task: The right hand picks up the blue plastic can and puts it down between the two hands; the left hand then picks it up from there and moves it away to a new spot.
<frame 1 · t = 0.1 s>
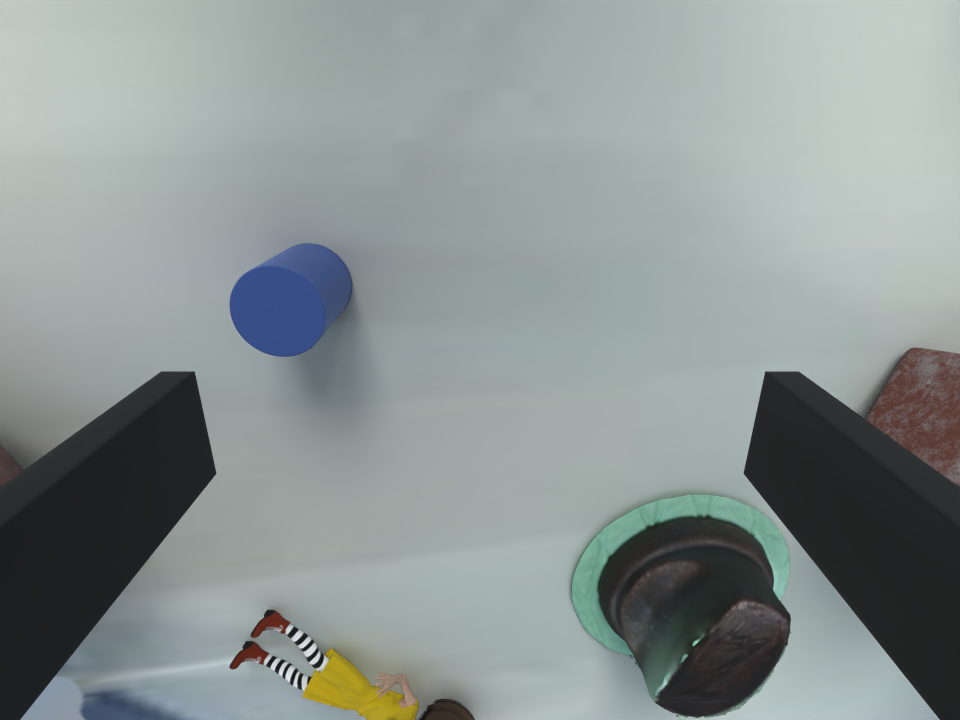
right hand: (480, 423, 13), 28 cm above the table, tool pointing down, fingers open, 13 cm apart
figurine: (368, 671, 55), on the table
chocolate cake: (678, 580, 51), on the table
can: (312, 283, 40), on the table
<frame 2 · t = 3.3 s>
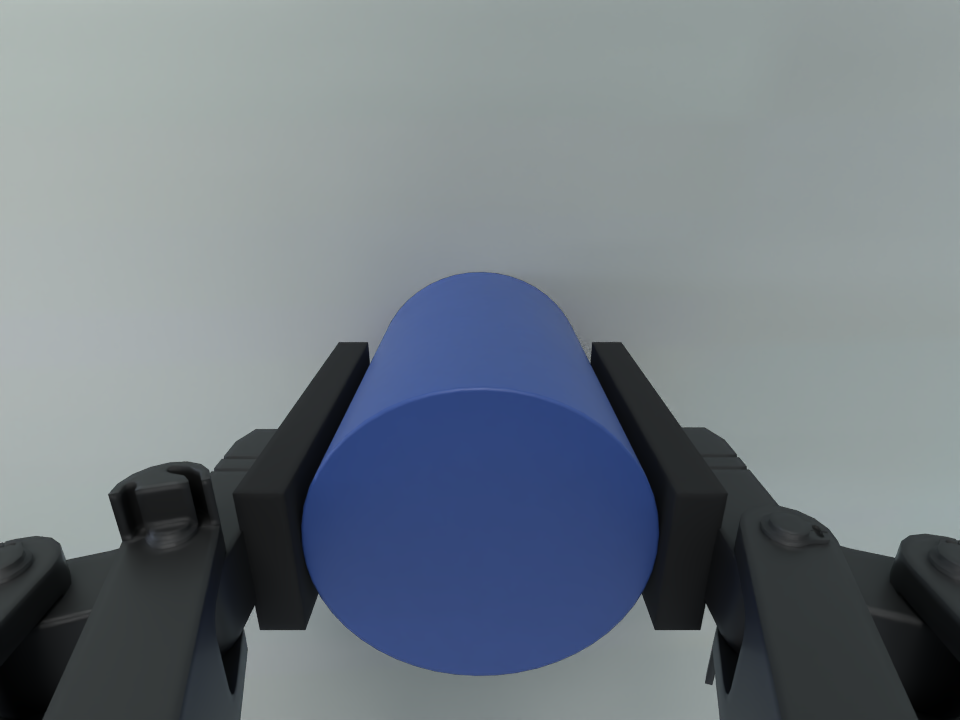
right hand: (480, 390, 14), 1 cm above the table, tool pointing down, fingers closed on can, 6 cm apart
can: (480, 370, 16), on the table, touching right hand
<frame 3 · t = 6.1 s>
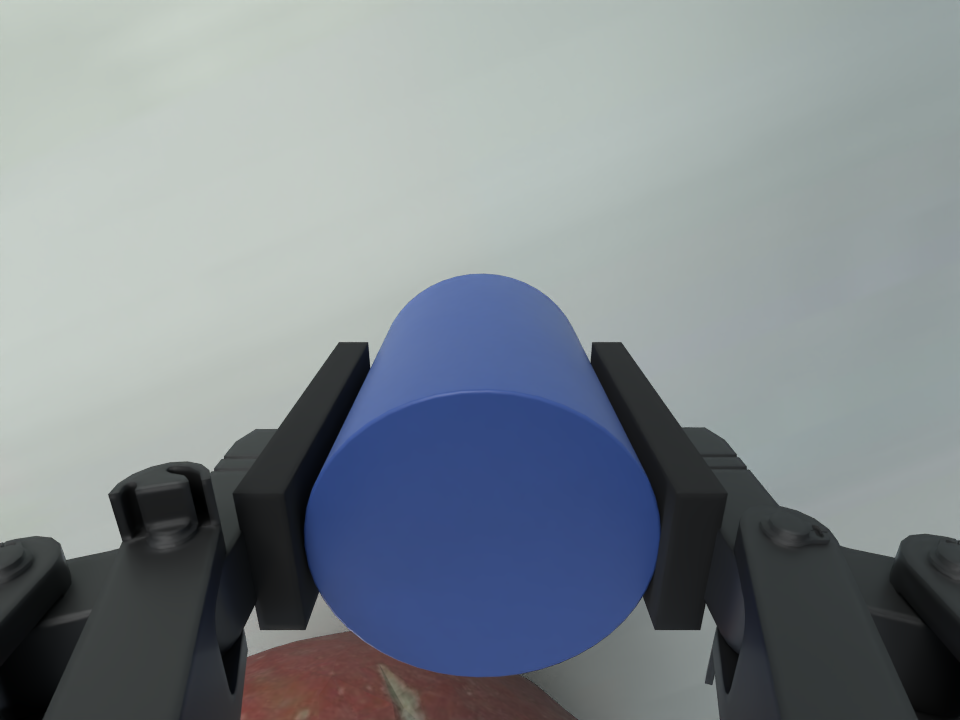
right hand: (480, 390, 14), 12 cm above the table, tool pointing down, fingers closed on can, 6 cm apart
clay pot: (401, 698, 36), on the table
can: (481, 371, 16), point 11 cm above the table, touching right hand
when the right hand's fingers open (3 cm above the table, at t = 9.1 s): can drops 1 cm, on the table.
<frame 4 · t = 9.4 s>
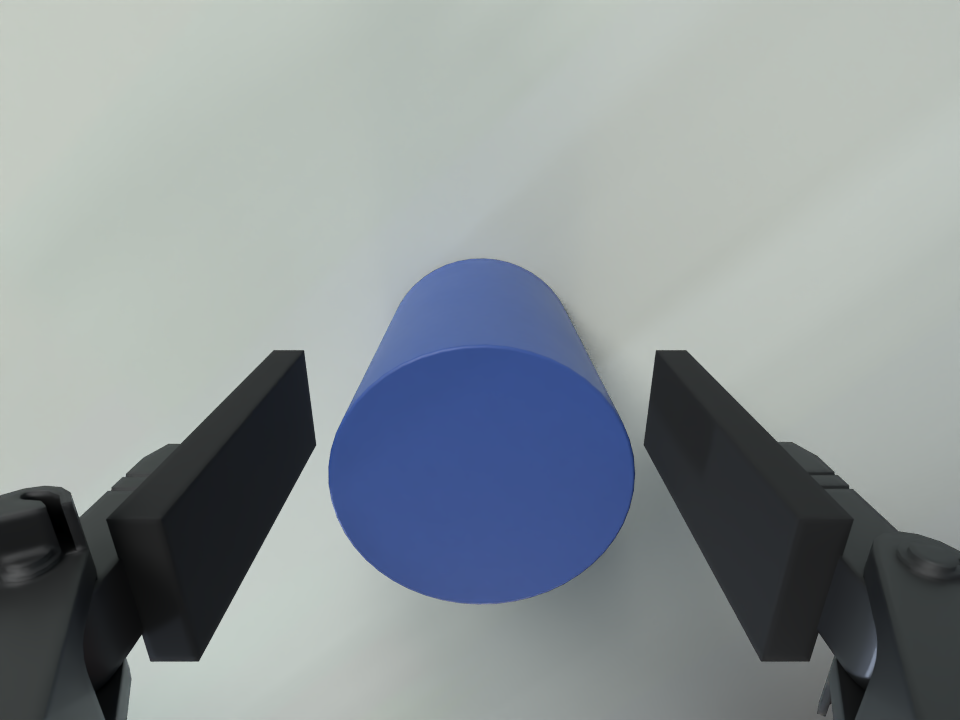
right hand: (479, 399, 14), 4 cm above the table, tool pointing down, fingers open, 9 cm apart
can: (480, 349, 17), on the table
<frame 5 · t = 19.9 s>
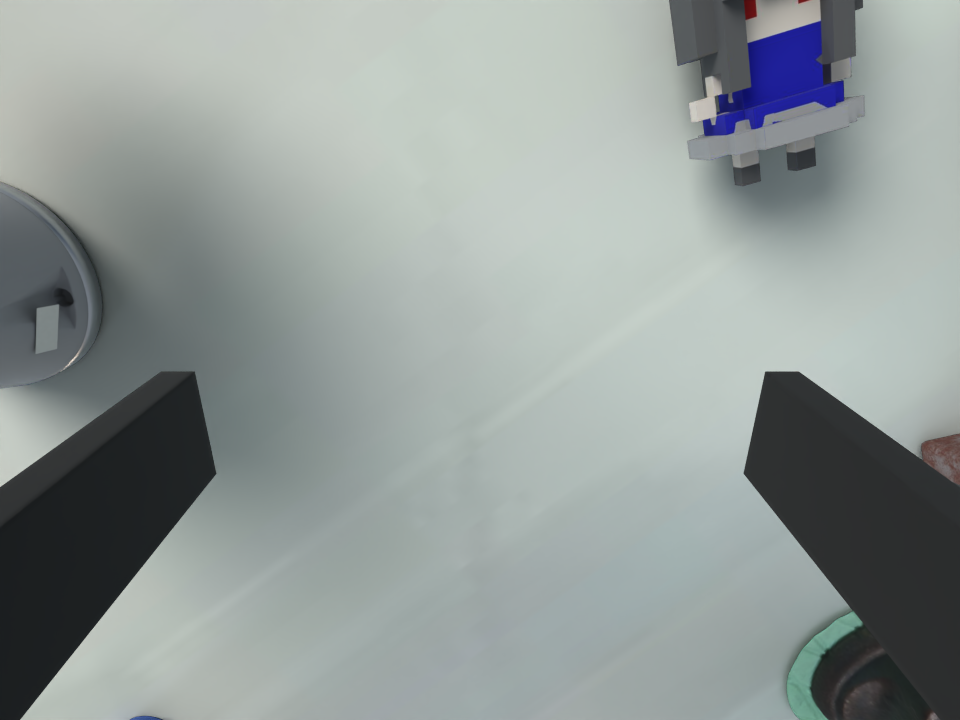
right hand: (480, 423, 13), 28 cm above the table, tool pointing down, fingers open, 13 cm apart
toy: (726, 52, 35), on the table
chocolate cake: (883, 668, 55), on the table
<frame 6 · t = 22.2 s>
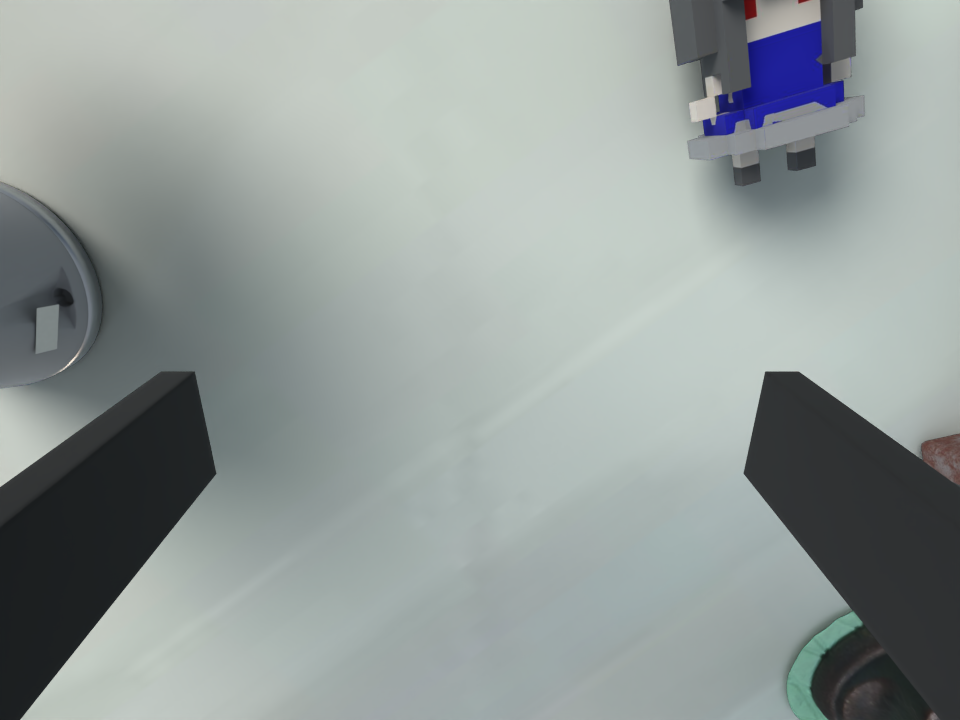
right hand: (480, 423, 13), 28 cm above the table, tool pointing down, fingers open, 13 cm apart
toy: (726, 52, 35), on the table
chocolate cake: (883, 668, 55), on the table
when the left hand's fingers open (3 cm above the table, at t = 24.6 s): can drops 1 cm, on the table.
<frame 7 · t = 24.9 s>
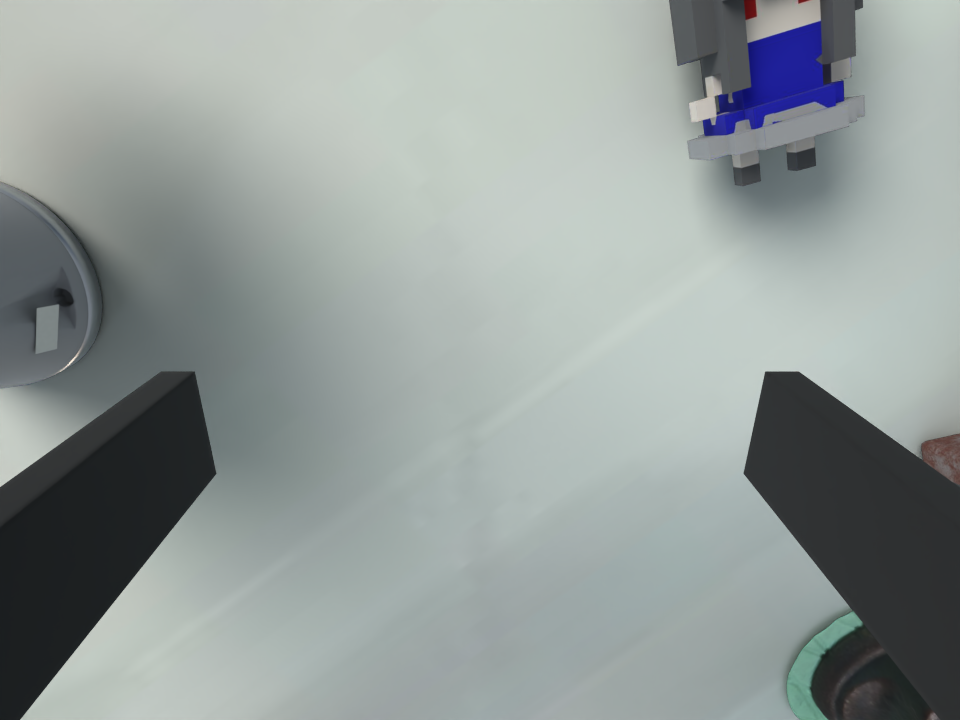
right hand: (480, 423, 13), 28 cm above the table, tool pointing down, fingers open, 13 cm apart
toy: (726, 52, 35), on the table
chocolate cake: (883, 668, 55), on the table
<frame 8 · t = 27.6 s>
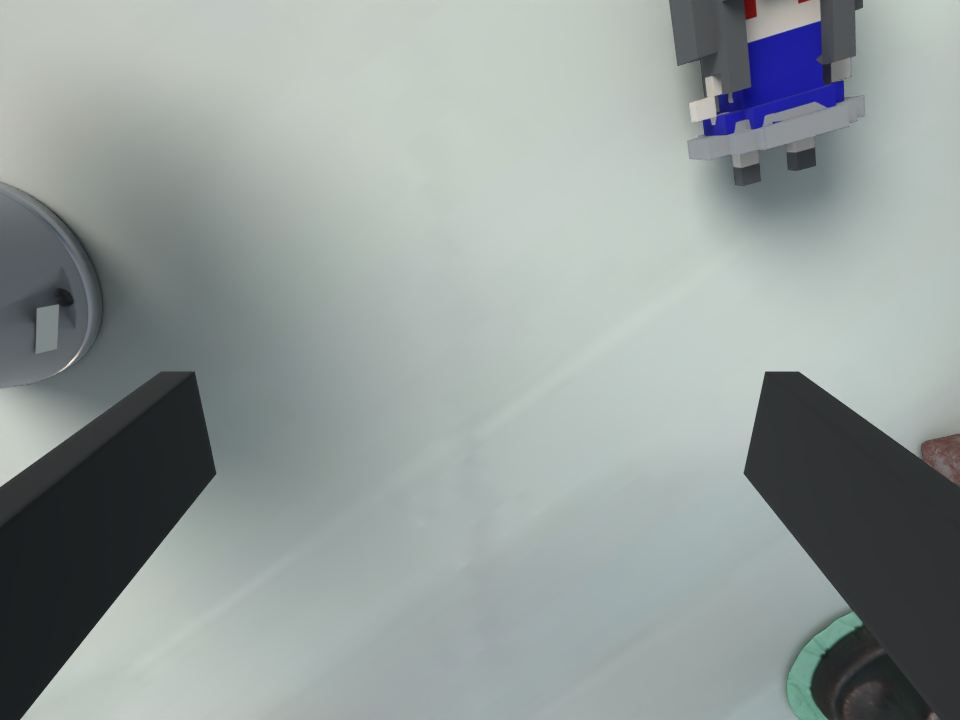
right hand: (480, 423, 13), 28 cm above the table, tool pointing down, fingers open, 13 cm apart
toy: (726, 52, 35), on the table
chocolate cake: (883, 668, 55), on the table
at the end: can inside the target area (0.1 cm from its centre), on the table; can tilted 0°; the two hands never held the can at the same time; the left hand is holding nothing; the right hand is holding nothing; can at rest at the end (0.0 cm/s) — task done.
